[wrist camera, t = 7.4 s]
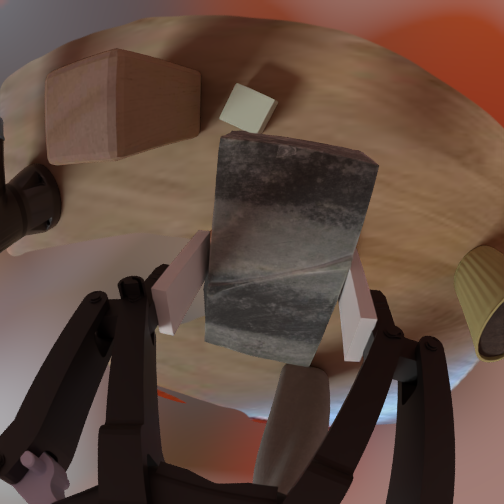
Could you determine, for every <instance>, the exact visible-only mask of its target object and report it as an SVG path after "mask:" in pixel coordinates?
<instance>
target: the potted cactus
mask: <svg viewBox="0 0 504 504" xmlns="http://www.w3.org/2000/svg"><path fill="white" fill-rule="evenodd" d="M454 288H455V292H456V294H457V297H458V299H459V302H460V304H461V307H462V310H463V313H464V315H465V318H466V321H467V324H468V327H469V330H470V333H471V337H472V340H473V344H474V347H475V352H476V355H477V357H478V358H479V359H480V360H481V361H484V362H494V361H498V360H501V359H503V358H504V254H502V253H501V252H499V251H498V250H496V249H494V248H492V247H490V246H479V247H477V248H475V249H473V250H471V251H470V252H469V253H468V254H467V255H466V256H465V257H464V258H463V259H462V261H461V262H460V264H459V266H458V268H457V270H456V273H455V277H454Z"/></svg>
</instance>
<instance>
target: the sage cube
mask: <svg viewBox="0 0 504 504" xmlns="http://www.w3.org/2000/svg"><path fill="white" fill-rule="evenodd" d="M277 104H278V101H276V100H274V99H272V98H270V97H268V96H266V95H263V94H261V93H259V92H257V91H255V90H252V89H250V88H248V87H245V86H243V85H241V84H238V83H236V85H235V87H234V89H233V91H232V93H231V95H230V97H229V99H228V101H227V103H226V105H225V107H224V109H223V111H222V113H221V115H220V118H219V119H220V120H223V121H225V122H227V123H229V124H232V125H234V126H236V127H238V128H240V129H242V130H244V131H247V132H250V133H259V134H262V133H263V131H264V129H265V127H266V125H267V123H268V121H269V119H270V117H271V115H272V114H273V112H274V110H275V108H276V106H277Z"/></svg>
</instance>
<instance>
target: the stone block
mask: <svg viewBox="0 0 504 504" xmlns="http://www.w3.org/2000/svg"><path fill="white" fill-rule="evenodd" d="M378 168H379V165H378V164H377V163H376V162H374V161H373V160H372V159H371V158H369V157H368V156H367V155H365V154H364V153H363V152H361V151H359V150H352V149H348V148H344V147H338V146H333V145H328V144H323V143H317V142H312V141H306V140H300V139H293V138H289V137H282V136H272V135H264V134H259V133H250V132H247V131H232V132H231V133H229V134H227V135H224V136H221V138H220V144H219V152H218V163H217V175H216V189H215V203H214V212H213V223H212V235H211V246H210V260H209V274H208V275H207V277H206V279H205V284H204V289H203V290H204V301H205V342H208V343H211V344H214V345H217V346H221V347H225V348H228V349H231V350H234V351H237V352H240V353H244V354H247V355H250V356H255V357H260V358H264V359H270V360H275V361H279V362H284V363H288V364H293V365H298V366H304V367H309V366H310V364H311V362H312V360H313V357H314V355H315V353H316V351H317V348H318V346H319V344H320V342H321V339H322V337H323V334H324V332H325V329H326V326H327V324H328V322H329V319H330V317H331V314H332V312H333V310H334V307H335V305H336V302H337V300H338V297H339V295H340V292H341V289H342V287H343V284H344V281H345V279H346V276H347V273H348V270H349V269H350V268H351V264H352V260H353V253H354V251H355V248H356V245H357V242H358V239H359V235H360V232H361V229H362V226H363V223H364V219H365V216H366V212H367V209H368V205H369V202H370V198H371V195H372V192H373V188H374V184H375V180H376V176H377V172H378Z"/></svg>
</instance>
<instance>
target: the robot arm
mask: <svg viewBox="0 0 504 504" xmlns="http://www.w3.org/2000/svg"><path fill="white" fill-rule="evenodd" d="M4 140H5V138H4V135H3V120H2V118H1V117H0V253H1V252H2V251H3V250H5V249H6V248H8V247H9V246H11V245H12V244H14V243H15V242H17V241H18V240H19V239H21V238H22V237H24V236H26V235H32V234H37V233H43V232H46V231H48V230H50V229H51V228H53V227H54V226H55V225H56V224H57V223H58V221H59V218H60V213H61V199H60V194H59V190H58V187H57V184H56V181H55V179H54V177H53V176H52V174H51V173H50V171H49V170H48V169H47V168H46V167H44V166H43V165H41V164H33V165H30V166H28V167H26V168H24V169H23V170H22V171H20V172H19V173H18V174H17V175H16V176H15V177H14V178H13V179H12V180H11V181H10V182H9V183H7V184H5V171H4ZM210 246H211V240H210V231H203V230H199V231H198V232H197V233H196V234H195V235H194V236H193V238H192V239H191V240H190V241H189V242H188V244H187V245H186V246H185V247H184V248H183V250H182V251H181V252H180V253H179V254H178V256H177V257H176V258H175V259H174V261H173V262H172V263H171V264H170V265H167V264H162V265H160V266H159V267H157V268H155V270H154V271H153V272H152V274H150V275H149V277H148V278H147V279H146V280H145V281H144V280H143V279H142V278H141V277H138V276H129V277H126V278H123V279H122V280H120V281H119V283H118V288H119V292H120V296H121V299H108V297H107V294H106V293H105V292H102V291H94V292H92V293H90V294H88V295H87V296H86V297H85V298H84V299H83V301H82V302H81V304H80V305H79V307H78V308H77V310H76V311H75V313H74V314H73V316H72V317H71V319H70V320H69V322H68V323H67V325H66V327H65V328H64V330H63V331H62V333H61V334H60V336H59V338H58V339H57V341H56V342H55V344H54V346H53V348H52V349H51V351H50V352H49V354H48V356H47V358H46V360H45V361H44V363H43V365H42V366H41V368H40V370H39V372H38V374H37V375H36V377H35V379H34V381H33V383H32V385H31V387H30V389H29V391H28V393H27V395H26V397H25V399H24V401H23V403H22V405H21V407H20V409H19V411H18V413H17V415H16V418H15V420H14V421H13V422H12V423H11V424H10V426H8V428H7V429H6V430H5V431H4V432H3V433H2V434H1V436H0V479H2V480H4V481H5V482H7V483H8V484H10V485H12V486H13V487H14V488H15V489H16V490H17V492H18V493H19V494H20V495H21V496H22V497H23V498H24V499H25V500H26V502H27V503H28V504H340V503H341V501H342V500H343V498H344V496H345V494H346V493H347V491H348V489H349V487H350V485H351V483H352V481H353V473H354V470H355V469H356V467H357V464H358V463H359V461H360V458H361V456H362V454H363V452H364V450H365V448H366V446H367V444H368V441H369V439H370V437H371V434H372V432H373V430H374V427H375V425H376V423H377V420H378V418H379V415H380V413H381V410H382V407H383V405H384V402H385V399H386V396H387V394H388V391H389V388H390V385H391V382H392V379H394V380H397V381H398V402H397V422H396V435H395V446H394V455H393V464H392V471H391V478H390V484H389V489H388V495H387V500H386V504H453V496H454V481H455V436H454V420H453V419H454V418H453V407H452V398H451V390H450V382H449V376H448V369H447V363H446V358H445V353H444V347H443V345H442V343H441V342H440V341H439V340H438V339H436V338H435V337H432V336H424V337H422V338H421V339H420V341H419V342H417V341H413V340H410V339H407V338H405V337H404V333H403V332H402V330H401V329H400V328H399V327H397V326H395V324H394V321H393V318H392V315H391V312H390V309H389V306H388V304H387V300H386V297H385V296H384V295H383V293H382V292H381V291H378V290H369V287H368V283H367V280H366V277H365V274H364V270H363V267H362V264H361V261H360V258H359V255H358V252H357V249H356V248H355V251H354V253H353V260H352V264H351V268H350V269H349V270H348V273H347V276H346V279H345V281H344V284H343V287H342V289H341V292H340V295H339V297H338V301H339V309H340V318H341V328H342V338H343V349H344V361H353V362H360V360H361V357H362V355H363V357H364V362H363V364H362V366H361V368H360V370H359V372H358V375H357V377H356V379H355V381H354V383H353V385H352V387H351V390H350V392H349V394H348V396H347V397H346V399H345V401H344V403H343V405H342V407H341V409H340V411H339V413H338V415H337V416H336V418H335V420H334V422H333V424H332V425H331V427H330V429H329V431H328V432H327V434H326V436H325V437H324V439H323V441H322V442H321V444H320V446H319V447H318V449H317V451H316V452H315V454H314V455H313V457H312V458H311V460H310V462H309V463H308V465H307V466H306V468H305V469H304V471H303V472H302V474H301V475H300V476H299V478H298V479H297V481H296V482H295V483H294V485H293V486H292V487H291V489H290V490H289V491H288V493H287V494H283V493H281V492H278V487H277V486H268V485H260V484H253V483H231V484H217V483H213V482H211V481H209V480H207V479H205V478H203V477H201V476H199V475H197V474H195V473H193V472H191V471H190V470H187V469H184V468H181V467H177V466H174V465H171V464H167V463H165V461H164V457H163V454H162V447H161V438H160V427H159V415H158V398H157V375H156V334H155V329H156V327H157V325H158V326H159V330H160V333H164V334H169V335H173V336H174V334H175V332H176V330H177V329H178V327H179V325H180V323H181V321H182V319H183V318H184V316H185V314H186V312H187V311H188V309H189V307H190V305H191V304H192V302H193V300H194V298H195V296H196V295H197V293H198V291H199V289H200V287H201V286H202V284H203V282H204V281H205V279H206V277H207V275H208V274H209V260H210ZM111 355H112V357H111ZM110 358H111V365H110V374H109V385H108V395H107V409H106V422H105V425H102V426H101V427H100V428H99V434H98V485H97V486H95V487H92V488H90V489H87V490H85V491H83V492H80V493H77V494H75V495H72V496H69V497H67V498H65V495H64V490H66V489H68V487H69V484H70V483H69V480H68V479H67V474H66V471H67V469H68V467H69V465H70V463H71V461H72V459H73V457H74V454H75V451H76V448H77V445H78V442H79V439H80V436H81V433H82V430H83V427H84V424H85V421H86V418H87V416H88V413H89V410H90V408H91V405H92V402H93V400H94V397H95V394H96V392H97V389H98V387H99V384H100V382H101V379H102V377H103V374H104V372H105V370H106V367H107V365H108V362H109V360H110Z"/></svg>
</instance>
